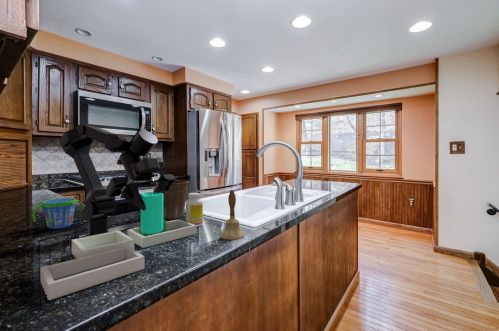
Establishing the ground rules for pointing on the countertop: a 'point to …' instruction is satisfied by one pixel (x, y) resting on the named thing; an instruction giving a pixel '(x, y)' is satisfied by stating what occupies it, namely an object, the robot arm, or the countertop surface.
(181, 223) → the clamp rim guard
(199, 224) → the supplement bottle
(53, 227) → the snack cup
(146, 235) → the pipe clamp
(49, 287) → the grey rectangular frame
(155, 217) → the candle
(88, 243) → the bin
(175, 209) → the plant pot
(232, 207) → the hand bell
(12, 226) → the countertop surface
